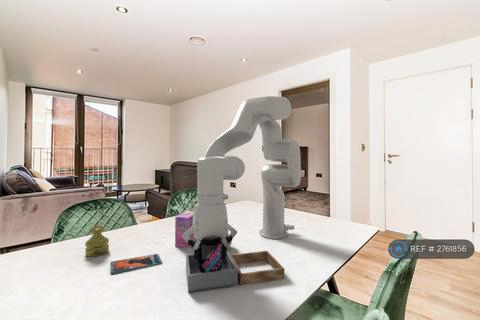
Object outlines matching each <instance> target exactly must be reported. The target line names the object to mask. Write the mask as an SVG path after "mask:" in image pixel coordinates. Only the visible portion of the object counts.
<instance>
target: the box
mask: <svg viewBox="0 0 480 320" xmlns="http://www.w3.org/2000/svg"><path fill="white" fill-rule="evenodd" d="M193 211H194V210H185V211H184V212H181V213H180V214H178V215H176V216H175V220H174V221H175V225H174V228H175V230H174V232H175V233H174V246H175V247H178V248H185V249H186V248H189V247H191V246H190V245H189V244H188V243H187V242H186V241H185V240H184V239H183V236H182V235H183V234H184V233H185V232H186V231H187V230H188V229H189V228H190V227H191V226H192V225H193ZM189 237H190V238H191V239H192V240H193V241H194V240H195V239H194V235H193V233H192V234H191V235H190V236H189Z"/></svg>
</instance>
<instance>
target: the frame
mask: <svg viewBox="0 0 480 320" xmlns="http://www.w3.org/2000/svg"><path fill="white" fill-rule="evenodd" d="M229 255H230V257H231V258H232V260H233V262H234V264H235V266H236V268H237V269H238V283H239V284H238V285H239V286H246V285H253V284H260V283H265V282H273V281H279V280H285V267H283V266H282V264H280V262H278V260H277V259H276V258H275V257H274V256H273V255H272V254H271V253H270V252H269V251H268V250H262V251H251V252H244V253H243V252H242V253H235V254H234V253H233V254H229ZM262 261H263V262H264V261H266V262H267V263H268V264H269V266H270V267H271V269H264V270H257V271H248V272H242V271H241V269H240V268H239V266H238V264H247V263H255V262H256V263H257V262H262Z"/></svg>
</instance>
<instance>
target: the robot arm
mask: <svg viewBox="0 0 480 320" xmlns="http://www.w3.org/2000/svg"><path fill="white" fill-rule="evenodd" d="M291 112H292V104H291V102H290V100H289V99H288V98H287V97H286V96H270V95H267V96H261V97H253V98H249V99H245V100H244V101H243V102H242V103H241V105H240V106H239V109H238V110H237V113H236V115H235V117H234V119H233V121H232V123H231V125H230V127H229V129H227V130H226V131H224V132H223V133H221V135H219V136H218V137H217V138H216V139H214V141H213V142H212V143H210V145H209V146H208V148H207V150H206V152H205V153H204V156H202V157H200V158H199V159H198V160H197V162H196V163H197V164H196V166H197V167H196V171H197V175H196V176H197V178H196V181H197V182H196V184H197V187H196V188H197V189H196V190H197V192H196V194H197V196H196V197H197V198H196V199H197V200H196V203H194V205H193V210H192V211H193V225H192V226H191V227H190V228H189V229H188V230H187V231H186V232H185V233H184V234H183V235H182V236H183V239H184V240H185V241H186V242H187V243H188V244H189V245H190V246H189V247H192V249H193V254H194V260H195V259H196V261H197V264H198V263H200V250H199V244H200V240H202V239H203V238H214V237H221V238H222V260H225V256H227V251H228V249H227V246H228V244H229V243H230V242H231V240H232V241H233V238H235V236H236V235H237V234H238V230H237V229H235V228H234V227H233V226H232V225H231V224H229V222H228V221H229V219H228V211H227V206H226V202H225V201H226V200H228V199H229V195H228V194H226V193H224V181H236V180H239V179H240V178H242V176H244V174H245V171H246V169H245V168H246V167H245V163H244V162H243V160H242V159H241V158H239V157H237V156H233V155H232V156H231V155H226V154H227V153H230V151H232V150H234V149H235V148H236V149H237V148H239V147H241V146H243V145H246V144H247V143H249V142H251V140H252V139H253V137H254V135H255V133H256V129H257V127H258V126H259V128H260V130H261V131H260V132H261V137H262V138H261V139H262V140H261V142H262V152H263V158H264V160H265V161H267V162H276V163H273V164H272V163H271V164H266V165H265V166H263V167H262V168H261V171H260V175H261V182H262V184H261V185H262V192H263V193H262V195H263V197H262V200H263V201H262V228H261V229H259V235H260V236H261V237H263V238H265V239H271V240H273V239H274V240H277V239H279V240H280V239H284V238H287V237H288V236H289V233H288V231H289V230H291V231H292V230H295V225H294V224H291V225H290V224H286V223H285V204H286V203H285V201H286V200H285V199H286V197H285V193H284V190H283V189H282V188H281V187H286V188H288V187H289V188H296V187H298V186H300V184H301V181H302V165H301V149H300V145H299V142H298V141H297V140H295V139H283V136H282V127H281V125H280V123H279V121H280V120H281V121H282V120H286V119H288V117H290V115H291ZM225 155H226V156H225ZM279 162H281V163H287V164H280V163H279ZM278 163H279V164H278ZM229 232H230V233H229ZM192 233H193V235H194V239H195V240H194V241H193V240H192V239H191V238H190V237H189V236H190V235H191V234H192ZM228 234H229V235H228ZM225 237H226V238H225Z"/></svg>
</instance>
